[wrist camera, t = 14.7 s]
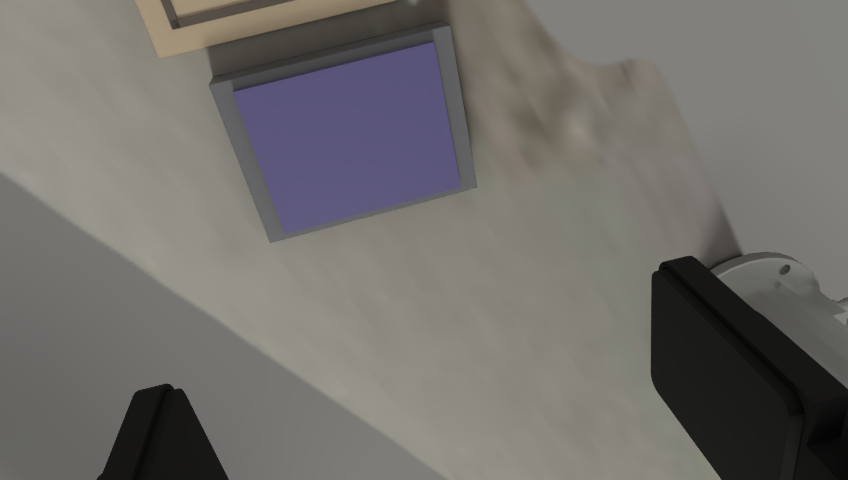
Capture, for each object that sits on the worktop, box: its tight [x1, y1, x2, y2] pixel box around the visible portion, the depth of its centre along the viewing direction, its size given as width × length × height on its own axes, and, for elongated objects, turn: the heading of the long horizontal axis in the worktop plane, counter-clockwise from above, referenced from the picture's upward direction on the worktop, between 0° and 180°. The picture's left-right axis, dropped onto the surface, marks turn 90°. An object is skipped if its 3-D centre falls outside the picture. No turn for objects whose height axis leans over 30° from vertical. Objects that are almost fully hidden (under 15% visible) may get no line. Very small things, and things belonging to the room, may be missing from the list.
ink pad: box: [209, 20, 477, 243], centre depth 32 cm, size 12×9×2 cm
